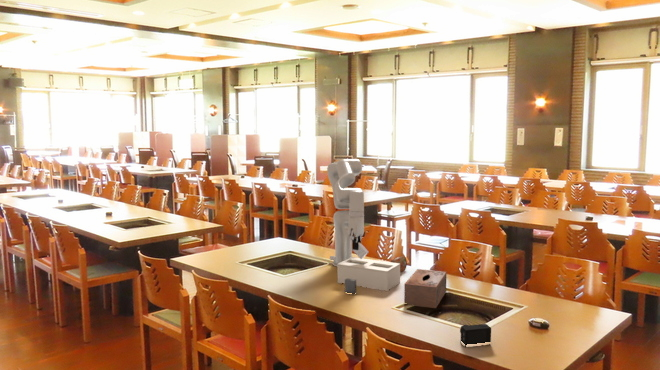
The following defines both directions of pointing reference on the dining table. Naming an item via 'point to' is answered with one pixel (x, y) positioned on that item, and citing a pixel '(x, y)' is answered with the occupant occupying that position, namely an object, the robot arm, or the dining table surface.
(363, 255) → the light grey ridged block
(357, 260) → the white rectangular block
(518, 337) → the dining table surface
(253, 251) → the dining table surface
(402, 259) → the tin
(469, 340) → the digital camera
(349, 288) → the brushed metal block
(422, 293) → the tissue box cover
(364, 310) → the dining table surface
